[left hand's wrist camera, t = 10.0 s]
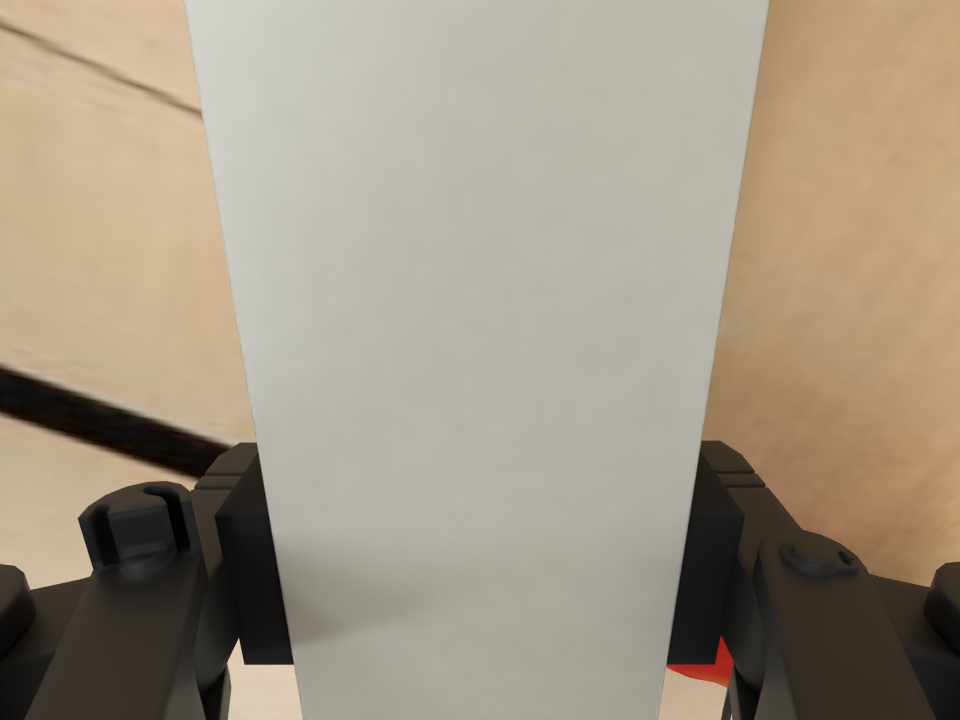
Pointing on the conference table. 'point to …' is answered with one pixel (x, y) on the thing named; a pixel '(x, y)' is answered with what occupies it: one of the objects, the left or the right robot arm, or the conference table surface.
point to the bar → (478, 330)
